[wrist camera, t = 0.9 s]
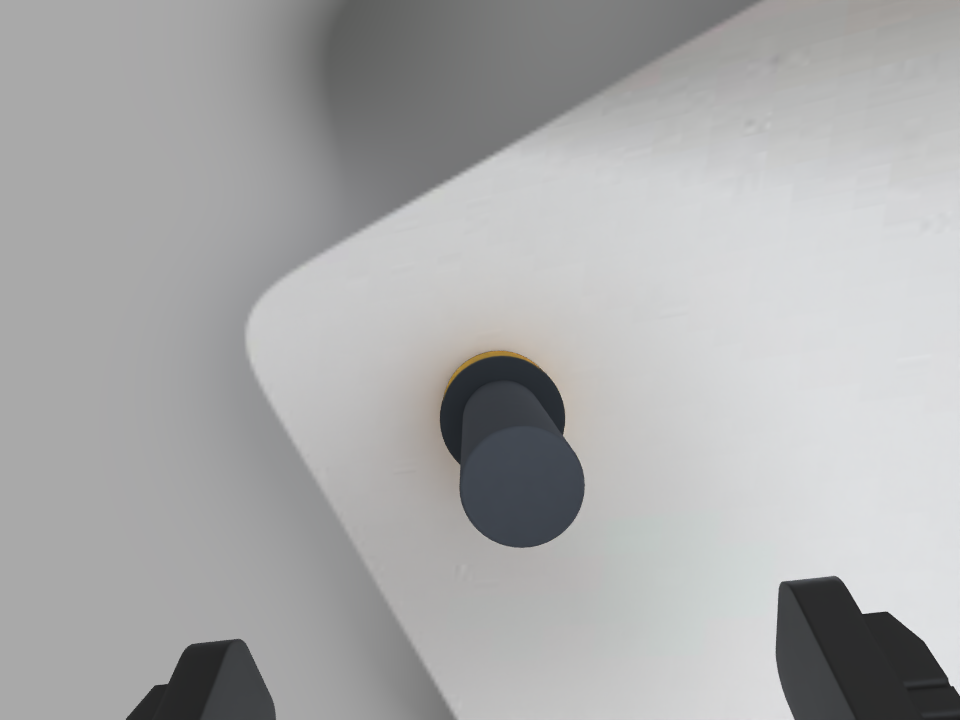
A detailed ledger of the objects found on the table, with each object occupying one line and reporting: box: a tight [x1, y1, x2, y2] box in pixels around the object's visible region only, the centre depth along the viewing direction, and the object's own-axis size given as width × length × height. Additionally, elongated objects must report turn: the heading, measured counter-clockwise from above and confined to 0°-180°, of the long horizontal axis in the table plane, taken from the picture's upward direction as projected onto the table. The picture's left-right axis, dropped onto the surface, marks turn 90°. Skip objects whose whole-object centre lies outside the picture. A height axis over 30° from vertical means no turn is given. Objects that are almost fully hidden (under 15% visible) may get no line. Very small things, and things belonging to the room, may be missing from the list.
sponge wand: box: [440, 351, 585, 548], centre depth 22 cm, size 4×4×12 cm
